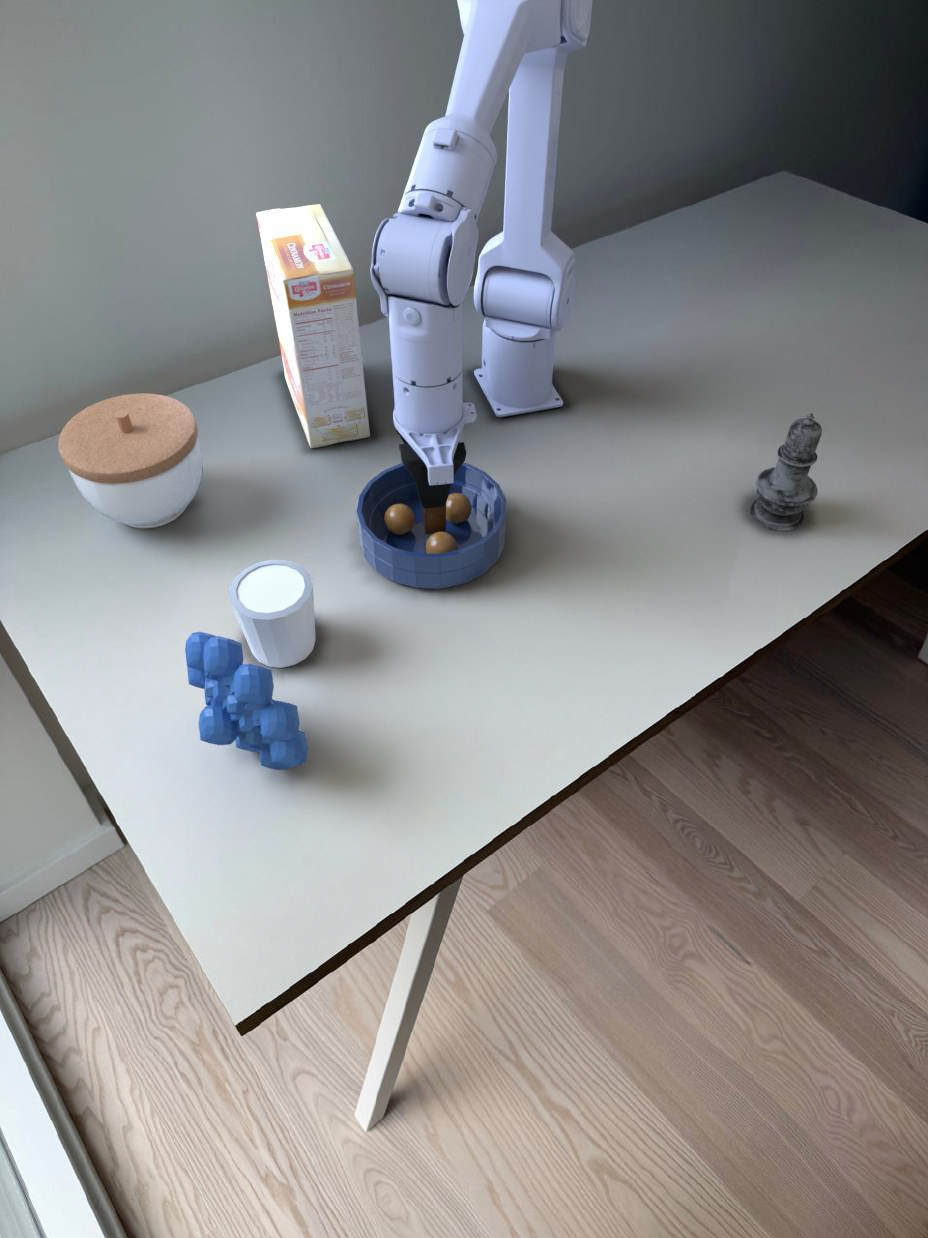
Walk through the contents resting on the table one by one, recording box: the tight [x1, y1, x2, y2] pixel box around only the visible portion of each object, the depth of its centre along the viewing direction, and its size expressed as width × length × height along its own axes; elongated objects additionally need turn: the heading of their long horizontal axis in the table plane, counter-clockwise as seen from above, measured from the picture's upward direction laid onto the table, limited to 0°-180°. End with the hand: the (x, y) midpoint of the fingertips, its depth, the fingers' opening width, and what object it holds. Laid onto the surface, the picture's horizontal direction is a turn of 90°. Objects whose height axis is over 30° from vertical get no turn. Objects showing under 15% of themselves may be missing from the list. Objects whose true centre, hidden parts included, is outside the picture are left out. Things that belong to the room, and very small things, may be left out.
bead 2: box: [426, 532, 458, 554], centre depth 83 cm, size 3×3×3 cm
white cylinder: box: [228, 558, 317, 669], centre depth 76 cm, size 7×7×7 cm
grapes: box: [184, 631, 309, 771], centre depth 66 cm, size 12×7×12 cm, turn 51°
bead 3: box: [446, 493, 472, 524], centre depth 87 cm, size 3×3×3 cm
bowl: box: [355, 462, 507, 589], centre depth 85 cm, size 14×14×4 cm
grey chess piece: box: [749, 412, 823, 532], centre depth 85 cm, size 6×6×12 cm
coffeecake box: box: [255, 203, 371, 449], centre depth 95 cm, size 15×7×20 cm, turn 18°
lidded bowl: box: [57, 392, 204, 529], centre depth 86 cm, size 13×13×11 cm
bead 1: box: [384, 504, 415, 535], centre depth 86 cm, size 3×3×3 cm
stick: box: [422, 504, 446, 534], centre depth 82 cm, size 2×2×10 cm
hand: (431, 496), depth 83 cm, fingers closed on stick, 2 cm apart
